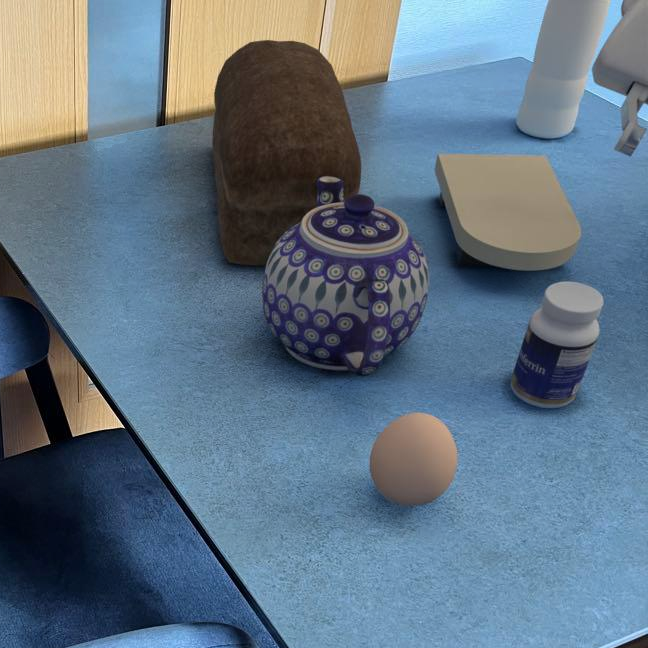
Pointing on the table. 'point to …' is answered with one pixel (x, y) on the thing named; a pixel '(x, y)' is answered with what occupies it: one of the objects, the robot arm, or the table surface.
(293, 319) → the teapot
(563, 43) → the water bottle
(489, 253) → the beige rounded board
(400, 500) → the egg
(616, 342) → the table surface
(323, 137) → the bread
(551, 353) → the pill bottle
